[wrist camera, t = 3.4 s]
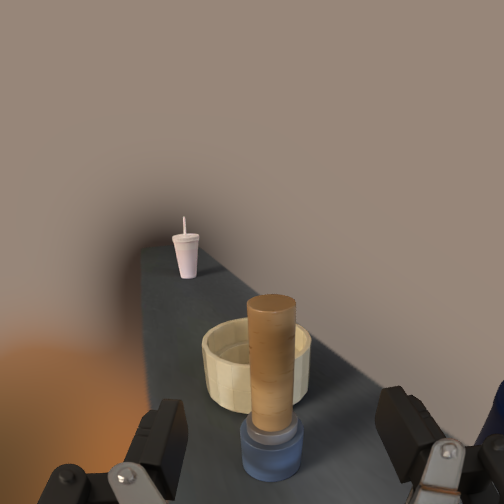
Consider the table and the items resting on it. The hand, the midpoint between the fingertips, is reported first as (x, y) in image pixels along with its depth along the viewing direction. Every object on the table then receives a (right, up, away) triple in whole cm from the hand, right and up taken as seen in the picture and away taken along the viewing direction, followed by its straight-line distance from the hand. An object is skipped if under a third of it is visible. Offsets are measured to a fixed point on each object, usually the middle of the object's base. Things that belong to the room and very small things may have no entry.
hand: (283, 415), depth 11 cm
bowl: (-1, -8, +20) cm, 22 cm away
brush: (0, -10, +10) cm, 14 cm away
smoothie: (-16, 0, +63) cm, 65 cm away
